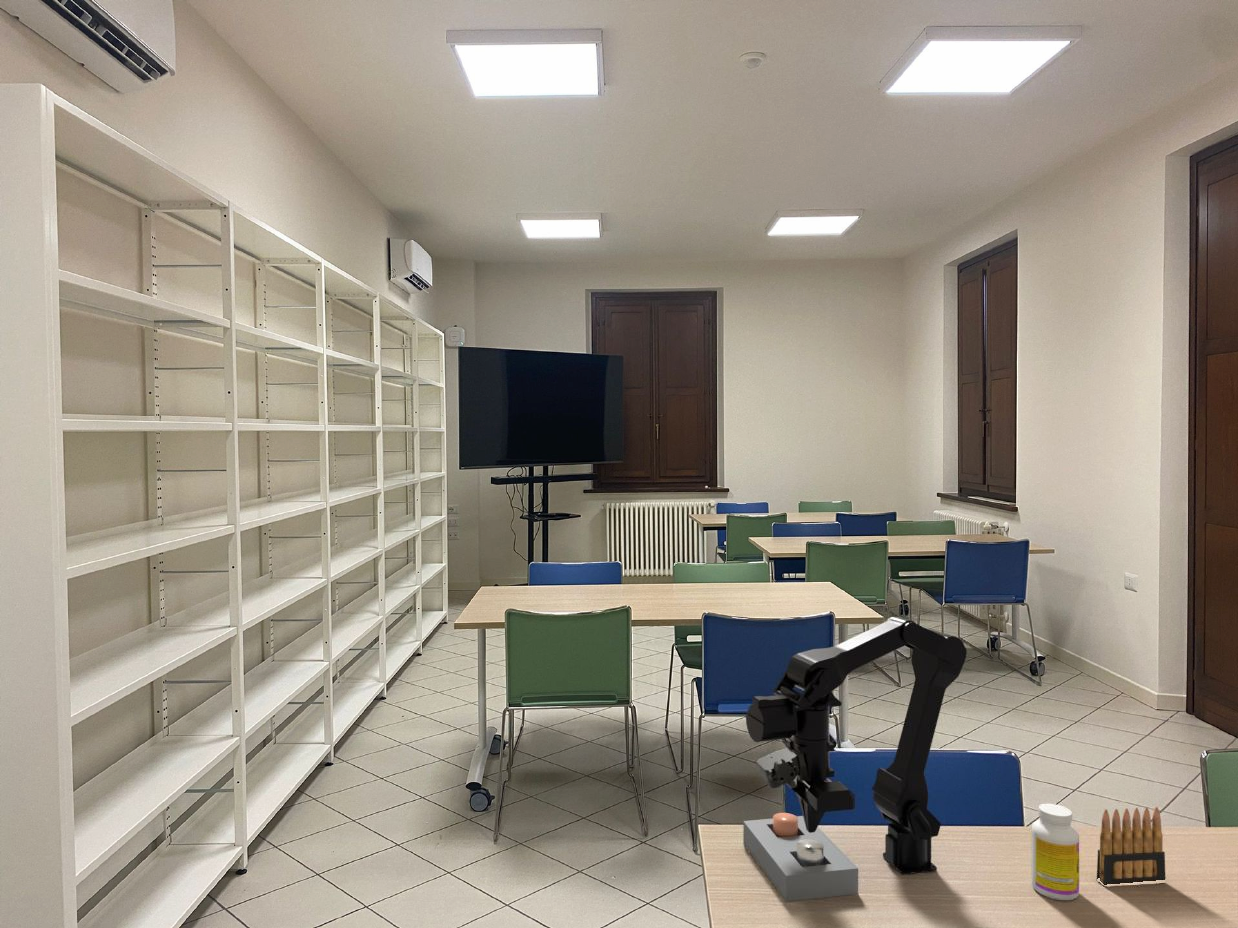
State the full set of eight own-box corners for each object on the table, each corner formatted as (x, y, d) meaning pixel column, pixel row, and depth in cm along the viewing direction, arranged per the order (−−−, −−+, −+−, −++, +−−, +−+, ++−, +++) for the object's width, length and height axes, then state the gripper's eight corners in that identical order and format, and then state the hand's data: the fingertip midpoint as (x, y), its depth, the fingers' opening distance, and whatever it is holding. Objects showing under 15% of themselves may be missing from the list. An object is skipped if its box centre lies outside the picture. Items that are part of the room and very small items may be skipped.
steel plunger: (816, 856, 131) (816, 837, 131) (828, 869, 127) (828, 850, 127) (792, 858, 130) (792, 840, 130) (803, 871, 126) (803, 852, 126)
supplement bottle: (1085, 904, 123) (1086, 820, 122) (1038, 899, 124) (1039, 816, 124) (1070, 882, 129) (1070, 802, 129) (1025, 877, 130) (1026, 798, 130)
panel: (806, 837, 144) (806, 815, 144) (858, 893, 125) (858, 868, 125) (743, 843, 142) (743, 820, 142) (786, 901, 123) (786, 875, 123)
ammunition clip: (1157, 877, 131) (1157, 804, 131) (1166, 883, 129) (1166, 809, 129) (1096, 880, 130) (1096, 806, 129) (1104, 887, 128) (1104, 811, 128)
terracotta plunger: (791, 828, 141) (792, 811, 141) (801, 839, 137) (801, 822, 137) (769, 830, 140) (769, 813, 140) (778, 841, 136) (778, 824, 136)
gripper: (743, 719, 136) (743, 810, 136) (786, 759, 118) (786, 865, 118) (804, 715, 138) (804, 805, 138) (856, 753, 120) (856, 857, 120)
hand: (810, 831), depth 129 cm, fingers closed
